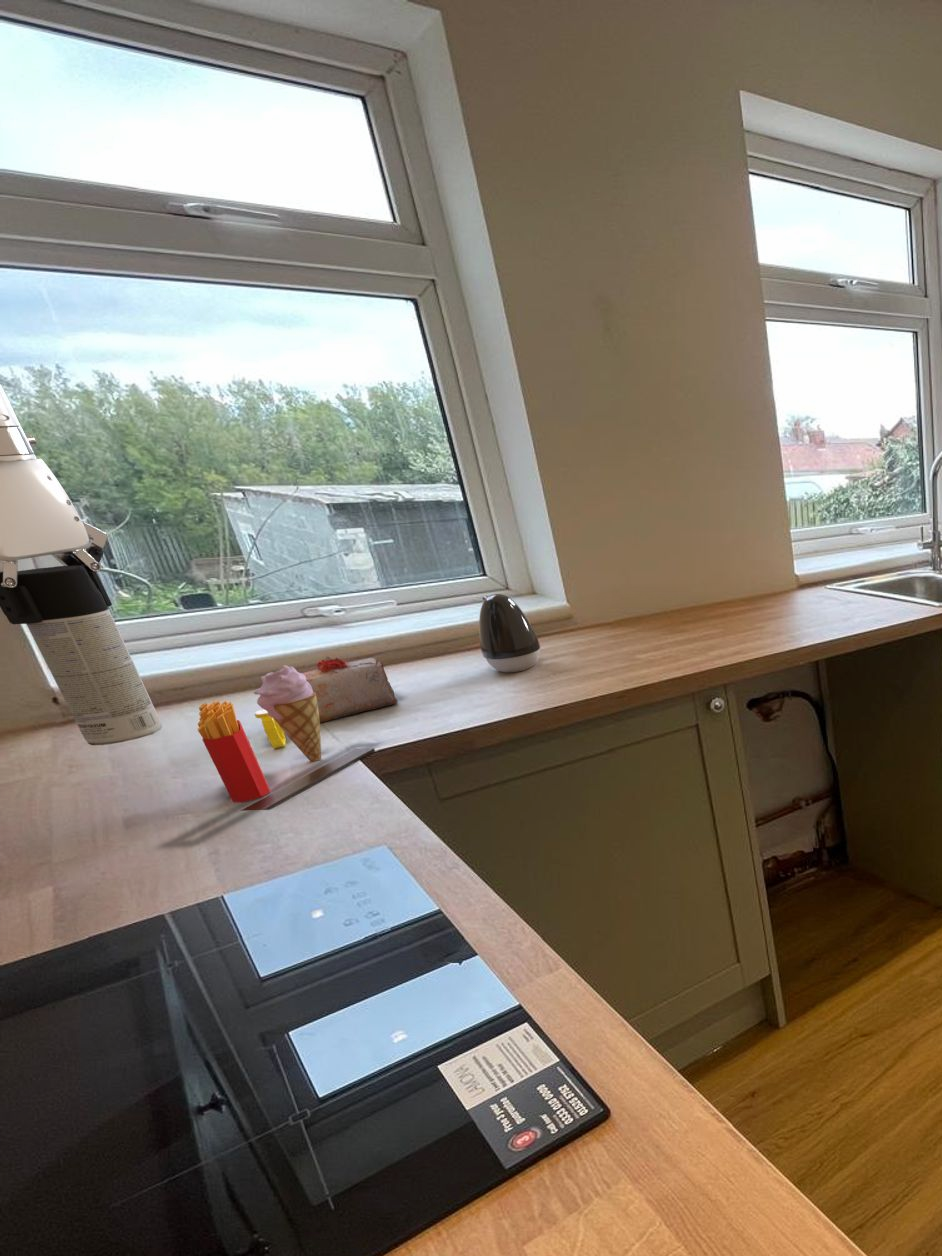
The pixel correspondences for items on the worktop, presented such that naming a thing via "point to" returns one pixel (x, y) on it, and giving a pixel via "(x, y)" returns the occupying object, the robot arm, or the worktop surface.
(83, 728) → the spray can
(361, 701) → the food item
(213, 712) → the french fries
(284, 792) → the strip
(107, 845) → the worktop surface
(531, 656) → the egg-shaped speaker
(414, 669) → the worktop surface
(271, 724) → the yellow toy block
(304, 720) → the ice cream cone
